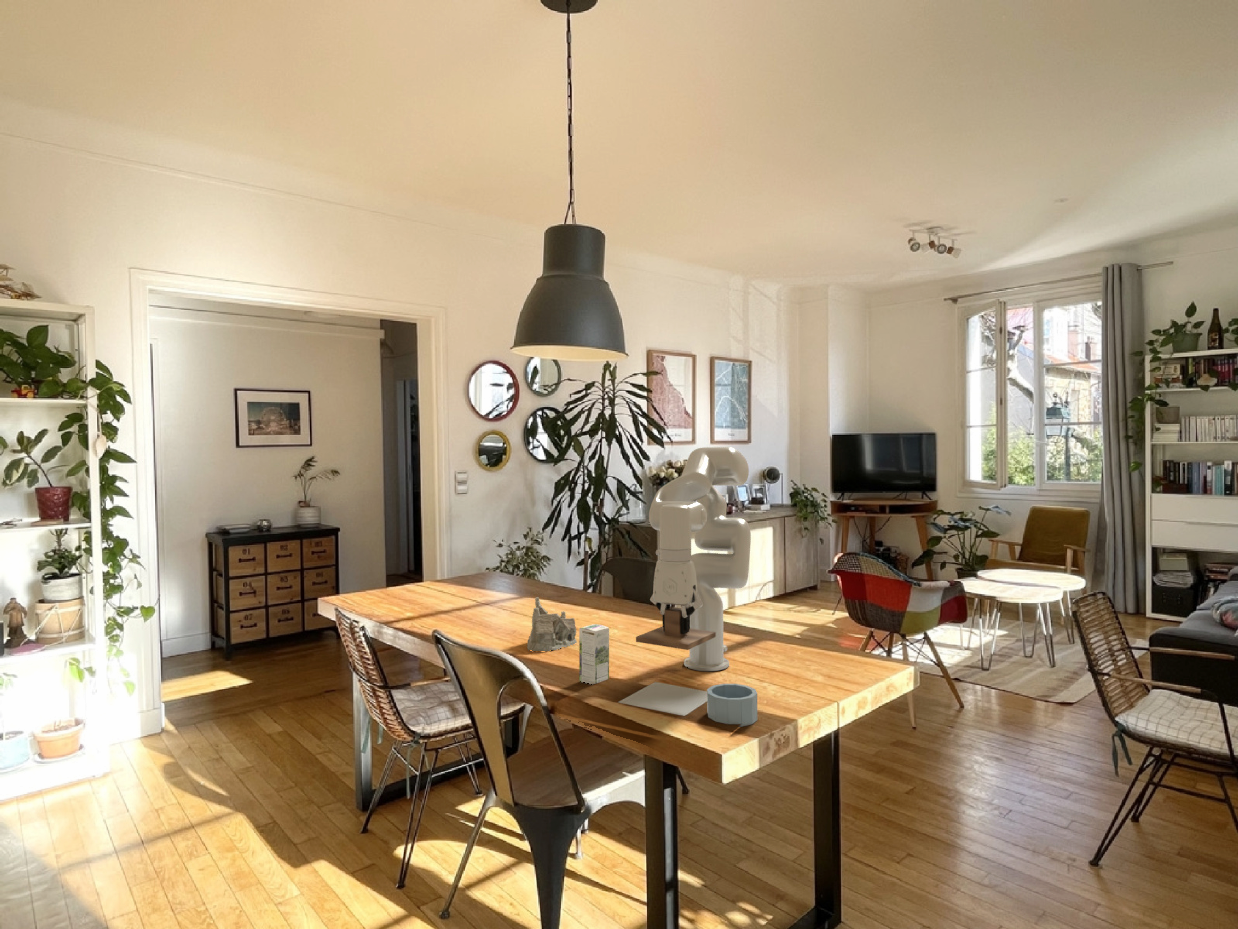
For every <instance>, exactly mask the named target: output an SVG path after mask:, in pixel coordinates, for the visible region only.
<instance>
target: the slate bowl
mask: <svg viewBox="0 0 1238 929" xmlns="http://www.w3.org/2000/svg"><path fill="white" fill-rule="evenodd" d="M706 691H707V702H706V704H707V705H706V709H707V712H706V713H707V717H708V718H709V719H710V720H712V721H715V722H716V723H722V724H726V725H738V727H739V728H740V727H741V728H742V727H746V726H751V725H753V724H755V723H756V722H757V721H758V691H757V690H756V689H755V688H754V687H752V686H749V685H745V684H739V683H720V684H719V683H718V684H715V685H712V686H710V687H708V688H707V689H706Z"/></svg>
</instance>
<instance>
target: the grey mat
mask: <svg viewBox="0 0 1238 929" xmlns="http://www.w3.org/2000/svg"><path fill="white" fill-rule="evenodd" d="M618 703H620V704H625V705H627V706H633V707H639V708H643V709H648V710H653V711H658V712H663V713H669V714H672V715H673V714H674V715H678V716H682V717H685V716H687V715H689V714H690V713H692V712H693V711H694V710H696V709H698V707H701V706H702V705H703V704H705V703H707V690H702V689H696V688H691V687H690V688H689V687H685V686H680V685H673V684H668V683H663V682H658V681H654V682H652V683H651V684H649V685H647V686H645V687H643V688H642V689H639V690H637V691H635V692H634V693H632V694H630V695H628V696H627V697H625V698H623V699H621V700H619V701H617V704H618Z"/></svg>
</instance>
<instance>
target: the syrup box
mask: <svg viewBox="0 0 1238 929" xmlns="http://www.w3.org/2000/svg"><path fill="white" fill-rule="evenodd" d="M578 629H579V630H578V632H579V633H578V634H579V638H578V641H579V642H578V644H579V649H578V650H579V652H578V653H579V656H578V657H579V660H578V662H579V664H578V665H579V666H578V670H579V673H578V674H579V680H578V681H579V682H580V681H581V682H580V683H583V682H585V683H584V684H587V683H589V684H588V685H591V684H592V685H594V684H595V685H597V684H598V683H602V682H605V681H606V680H609V679H610V627H608V626H605V625H603V624H599V623H598V624H597V623H596V624H595V623H594V624H593V623H592V624H590V625H586V626H583V627H580V628H578Z"/></svg>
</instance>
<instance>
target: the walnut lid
mask: <svg viewBox="0 0 1238 929" xmlns="http://www.w3.org/2000/svg"><path fill="white" fill-rule="evenodd" d="M681 617H682V611H681V607H675V606H673V607H672V606H671V608H669V609H666V610H665V632H664V631H663V625H662V626H660V627H657V628H655V629H652V630H650V631H647V632H645V633H641V634H639V635H637V636H635V642H636V643H642V644H647V645H652V646H653V645H654V646H658V647H659V646H661V647H667V648H673V649H678V650H686V651H689V649H691V648H693V647H695V646H697V645H700V644H702V643H704V642H706V641H708V640H710V639H712V638H714V637H716V632H712V631H705V630H698V629H690V630H689V632H688V633H685V634H681V633H680V618H681Z"/></svg>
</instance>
